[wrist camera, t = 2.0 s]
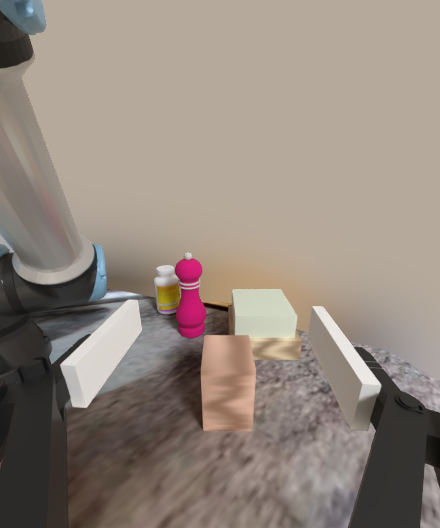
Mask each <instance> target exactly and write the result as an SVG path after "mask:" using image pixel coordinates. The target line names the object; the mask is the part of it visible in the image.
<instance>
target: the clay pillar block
mask: <svg viewBox="0 0 440 528" xmlns="http://www.w3.org/2000/svg"><path fill="white" fill-rule="evenodd" d="M255 379H256V368H255V363H254V358H253V353H252V348H251V343H250V338H249V335H204V345H203V354H202V363H201V389H202V412H203V431H252V427H253V411H254V395H255Z"/></svg>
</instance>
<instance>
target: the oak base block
mask: <svg viewBox="0 0 440 528" xmlns="http://www.w3.org/2000/svg"><path fill="white" fill-rule="evenodd" d="M228 324H229V335H235V334H234V324H233V314H232V305H228ZM250 343H251V348H252V353H253V358H254V360H282V359H300V352H301V345H302V339H301V338H300V336H299V334H298V332H297V330H296V331H295V338H250Z"/></svg>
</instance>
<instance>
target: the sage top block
mask: <svg viewBox="0 0 440 528" xmlns="http://www.w3.org/2000/svg"><path fill="white" fill-rule="evenodd" d="M232 314H233V324H234V334H235V335H249V338H295V331H296V323H297V314H296V313H295V312H294V310H293V308H292V307H291V305H290V303H289V302H288V300H287V298H286V297H285V295H284V294H283V292H282V290H281V289H233V290H232Z"/></svg>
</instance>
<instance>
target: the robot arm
mask: <svg viewBox="0 0 440 528" xmlns="http://www.w3.org/2000/svg"><path fill="white" fill-rule="evenodd" d="M45 27H46V20H45V14H44V9H43V5H42V1H41V0H0V234H1V235H2V237H3V238H4V239H5V240H6V241H7V243H8V244H9V245H10V247H11V248H12V249H13V250H14V251H15V252H14V253H10V252H9V249H8V248H7V247H6V246H5V245H1V244H0V462H1V460H2V458H3V460H2V464H1V469H0V528H68V481H67V430H66V408H65V404H66V403H67V402H68V401H69V399H71V402H72V406H73V407H81V408H87V407H88V405H89V404H90V403H91V401H92V400H93V398H94V397H95V396H96V394H97V393H98V391H99V390H100V389H101V387H102V386H103V384H104V383H105V382H106V380H107V379H108V377H109V376H110V374H111V373H112V372H113V370H114V369H115V367H116V366H117V365H118V363H119V362H120V360H121V359H122V358H123V356H124V355H125V353H126V352H127V351H128V349H129V348H130V346H131V345H132V344H133V342H134V341H135V339H136V338H137V337H138V335H139V334H140V332H141V331H142V327H141V320H140V313H139V306H138V300H127V301H126V302H125V303H124V304H123V305H122V306H121V307H120V308H119V309H118V310H117V311H116V312H115V313H114V314H113V315H112V316H111V317H109V318H108V319H107V320H106V321H105V322H104V323H103V324H102V325H101V326H100V327H99V328H98V329H97V330H96V331H95V332H94V333H93V334H88V335H86V336H84V337H83V338H81V339H79V340H78V341H77V342H76V343H75V344H74V345H73V347H71V348H70V349H68V351H66V352H65V353H64V354H63V355H62V356H61V357H60V358H59V359H58V360H56V361H55V362H54V363H53V364H52V365H51V362H50V359H49V355H50V353H51V350H52V347H51V343H50V340H49V338H48V336H47V335H46V334H45V333H43V331H42V330H41V329H40V328H39V327H38V326H37V325H36V323H35V322H34V321H33V320H32V319H31V318H30V315H29V313H33V312H37V311H42V310H47V309H53V308H58V307H63V306H68V305H73V304H79V303H89V302H90V301H93V300H97V299H101V298H103V297H104V296H105V295H106V292H107V280H106V266H105V257H104V251H103V247H102V246H101V245H96V244H92V243H91V242H90V240H89V239H88V238H86V237H85V236H84V235H82V234H80V233H78V231H77V229H76V226H75V223H74V220H73V218H72V215H71V212H70V209H69V207H68V204H67V201H66V198H65V196H64V193H63V190H62V187H61V185H60V182H59V179H58V176H57V174H56V171H55V168H54V166H53V163H52V160H51V157H50V155H49V152H48V149H47V147H46V144H45V141H44V138H43V135H42V133H41V130H40V127H39V125H38V122H37V119H36V116H35V114H34V111H33V108H32V105H31V103H30V100H29V97H28V94H27V92H26V89H25V86H24V84H23V81H22V75H23V74H24V73H25V72H26V70H27V69H28V68H29V67H30V65H31V64H32V63H33V61H34V59H35V55H34V51H33V48H32V45H31V41H30V39H29V35H28V34H30V35H35V34H36V33H41V32H43V31H44V30H45ZM308 340H309V342H310V345H311V347H312V349H313V351H314V353H315V355H316V357H317V359H318V361H319V364H320V366H321V368H322V370H323V372H324V374H325V376H326V378H327V380H328V383H329V385H330V387H331V389H332V391H333V393H334V395H335V397H336V399H337V402H338V404H339V406H340V408H341V410H342V412H343V414H344V416H345V418H346V421H347V423H348V425H349V427H350V429H353V430H366V431H368V428H369V425H370V422H371V423H372V424H373V426H374V428H375V430H376V433H375V436H374V439H373V442H372V445H371V450H370V453H369V457H368V460H367V464H366V467H365V470H364V474H363V477H362V481H361V484H360V488H359V491H358V495H357V498H356V502H355V505H354V509H353V512H352V515H351V519H350V522H349V526H348V528H420V520H421V506H422V493H423V479H424V466H425V463H426V464H429V465H431V466H434V470H435V473H436V477H437V480H438V484H439V487H440V413H439V412H435V411H432V410H429V409H426V408H425V406H424V405H423V404H422V403H421V402H420V401H419V400H417V399H416V398H415V397H413V396H411V395H410V394H407V393H405V392H402V391H401V390H400V389H399V388H398V387H397V386H396V384H395V383H394V382H393V381H392V379H391V378H390V377H389V376H388V375H387V373H386V372H385V371H384V370H383V369H382V367H381V366H380V365H379V364H378V363H377V361H376V360H375V359H374V357H373V356H372V355H371V354H370V353H369V352H367V351H366V350H365V349H363V348H362V347H353V346H352V345H351V343H350V342H349V341H348V339H347V338H346V337H345V336H344V334H343V333H342V331H341V330H340V329H339V327H338V326H337V325H336V323H335V322H334V321H333V319H332V318H331V317H330V315H329V314H328V313H327V311H326V310H325V308H324V307H322V306H312V310H311V317H310V324H309V331H308ZM17 381H18V382H17ZM15 382H16V383H15Z"/></svg>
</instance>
